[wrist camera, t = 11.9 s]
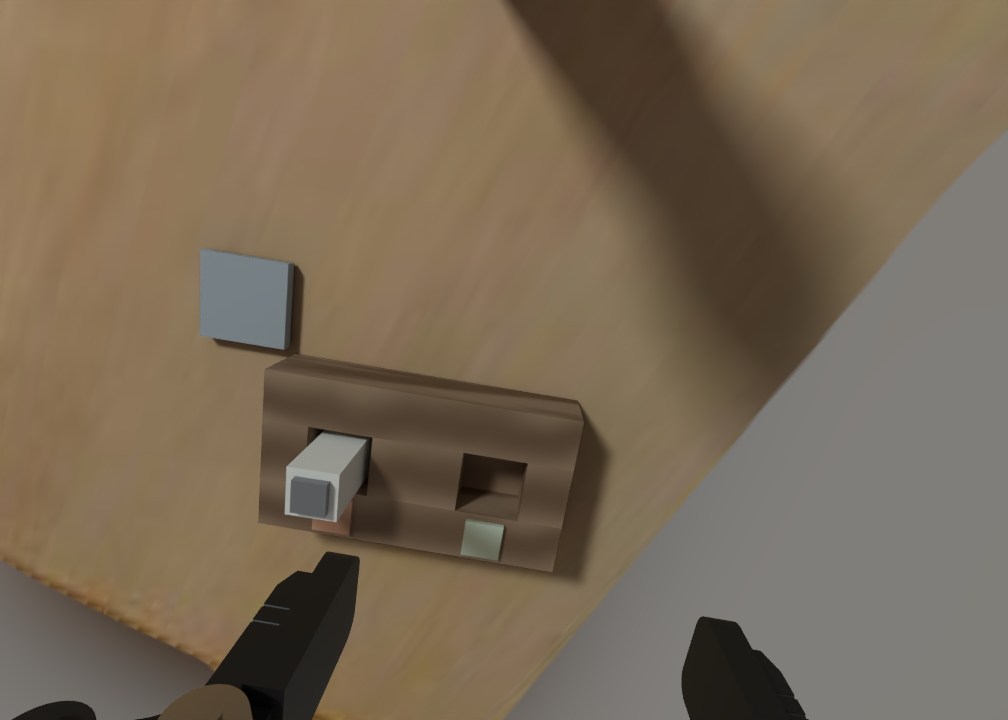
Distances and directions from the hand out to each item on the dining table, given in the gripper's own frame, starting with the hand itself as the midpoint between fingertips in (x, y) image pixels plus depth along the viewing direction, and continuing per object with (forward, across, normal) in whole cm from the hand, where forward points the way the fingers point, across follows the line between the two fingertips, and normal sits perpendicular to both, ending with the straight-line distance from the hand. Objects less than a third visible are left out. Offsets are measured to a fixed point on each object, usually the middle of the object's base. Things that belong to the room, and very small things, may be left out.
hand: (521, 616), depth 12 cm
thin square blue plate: (+30, +23, 0) cm, 38 cm away
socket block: (+30, +7, +11) cm, 33 cm away
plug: (+29, +13, +11) cm, 33 cm away
